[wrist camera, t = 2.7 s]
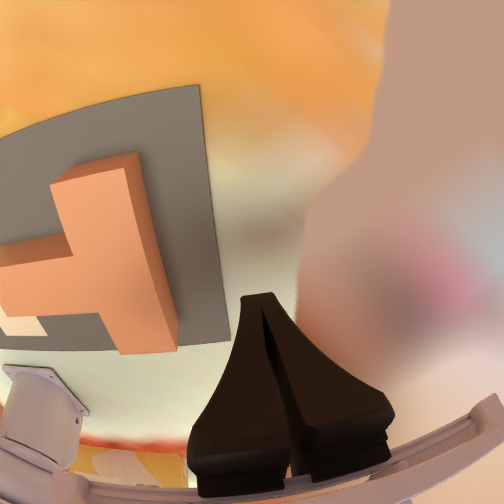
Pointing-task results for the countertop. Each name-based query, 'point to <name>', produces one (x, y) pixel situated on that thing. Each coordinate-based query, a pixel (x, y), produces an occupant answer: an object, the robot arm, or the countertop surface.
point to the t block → (97, 259)
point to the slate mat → (159, 199)
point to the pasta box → (130, 467)
